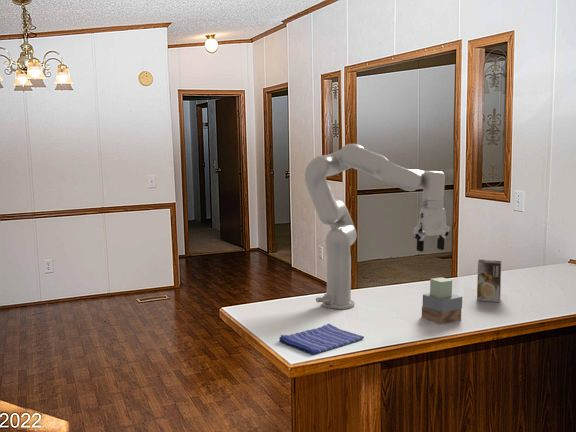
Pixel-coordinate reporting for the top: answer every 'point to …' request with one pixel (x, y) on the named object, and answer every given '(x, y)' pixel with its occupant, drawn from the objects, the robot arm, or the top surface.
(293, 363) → the top surface
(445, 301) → the grey square block
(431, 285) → the sage block
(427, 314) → the walnut block
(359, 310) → the top surface
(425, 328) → the top surface
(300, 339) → the dish towel
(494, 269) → the coffee box
